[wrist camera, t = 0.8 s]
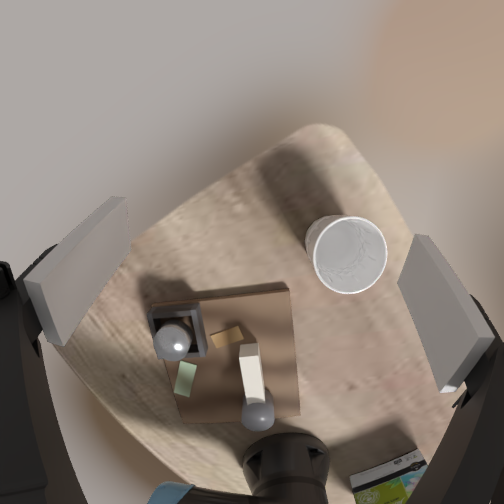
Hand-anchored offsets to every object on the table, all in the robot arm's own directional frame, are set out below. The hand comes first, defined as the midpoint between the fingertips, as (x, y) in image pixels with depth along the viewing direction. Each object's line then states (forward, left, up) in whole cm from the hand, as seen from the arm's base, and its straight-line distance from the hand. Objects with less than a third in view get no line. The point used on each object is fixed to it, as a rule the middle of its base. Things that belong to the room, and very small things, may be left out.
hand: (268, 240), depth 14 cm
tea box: (-54, -19, -27) cm, 63 cm away
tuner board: (-21, +7, -27) cm, 35 cm away
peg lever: (-23, +4, -25) cm, 34 cm away
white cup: (-5, -8, -27) cm, 29 cm away
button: (-14, +13, -23) cm, 30 cm away
